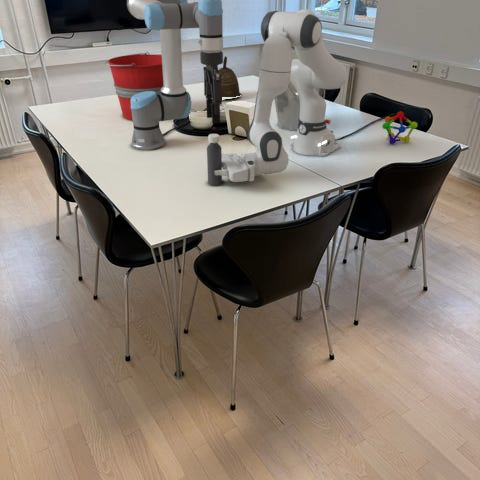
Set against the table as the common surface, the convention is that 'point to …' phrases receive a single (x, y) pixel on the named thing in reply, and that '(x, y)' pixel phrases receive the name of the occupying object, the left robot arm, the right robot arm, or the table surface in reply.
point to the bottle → (214, 163)
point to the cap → (213, 138)
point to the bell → (228, 81)
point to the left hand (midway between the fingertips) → (213, 120)
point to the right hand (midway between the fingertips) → (212, 168)
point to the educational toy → (398, 128)
